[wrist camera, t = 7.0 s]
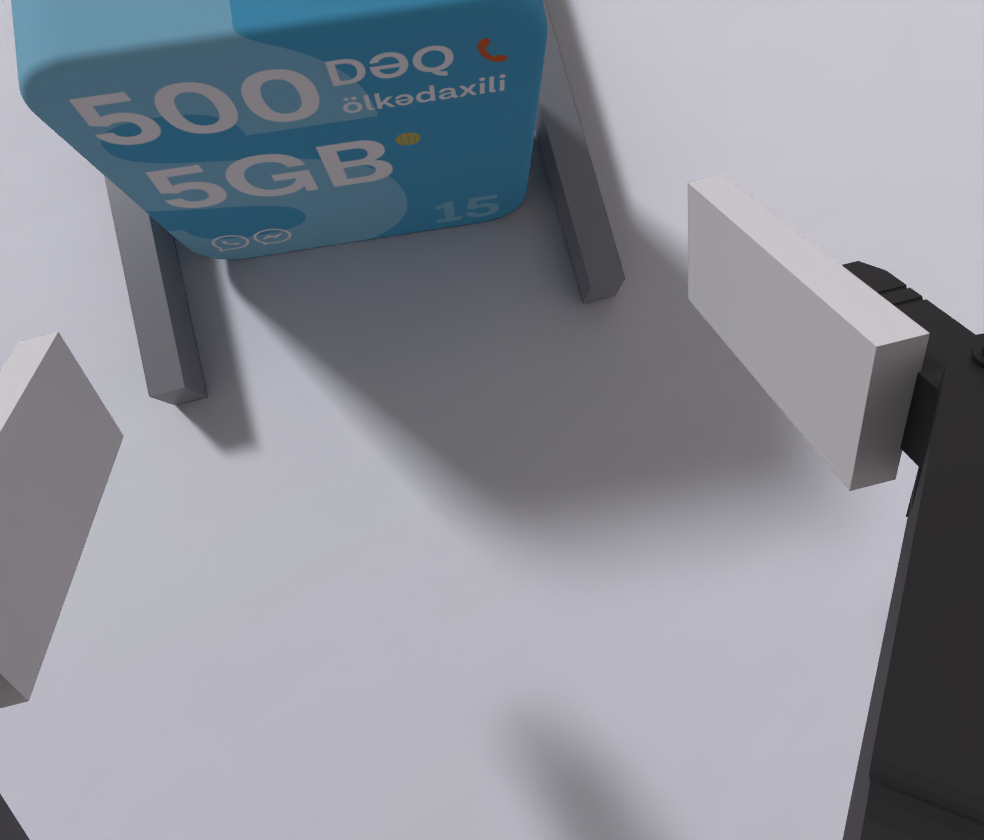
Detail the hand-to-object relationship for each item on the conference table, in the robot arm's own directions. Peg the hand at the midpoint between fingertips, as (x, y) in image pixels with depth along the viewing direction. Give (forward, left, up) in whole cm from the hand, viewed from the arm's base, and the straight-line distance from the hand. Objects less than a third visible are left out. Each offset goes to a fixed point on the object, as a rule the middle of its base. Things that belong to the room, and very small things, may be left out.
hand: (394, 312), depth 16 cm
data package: (-1, +8, -11) cm, 14 cm away
